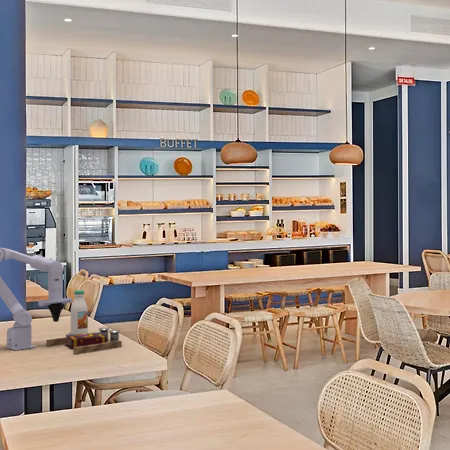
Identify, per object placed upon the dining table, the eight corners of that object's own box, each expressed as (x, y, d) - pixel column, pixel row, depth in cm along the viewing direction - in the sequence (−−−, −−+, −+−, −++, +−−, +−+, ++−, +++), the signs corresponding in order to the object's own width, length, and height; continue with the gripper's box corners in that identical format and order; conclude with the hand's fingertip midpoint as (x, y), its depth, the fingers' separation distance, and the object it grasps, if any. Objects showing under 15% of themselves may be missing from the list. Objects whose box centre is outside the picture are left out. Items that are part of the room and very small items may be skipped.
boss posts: (113, 345, 284) (113, 332, 284) (96, 341, 293) (96, 328, 293) (122, 344, 287) (122, 330, 287) (105, 339, 297) (105, 327, 297)
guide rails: (75, 354, 266) (75, 348, 266) (46, 345, 283) (46, 339, 283) (121, 347, 281) (121, 341, 281) (91, 339, 298) (91, 333, 298)
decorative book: (107, 347, 282) (107, 335, 282) (68, 350, 275) (68, 338, 275) (100, 342, 292) (100, 331, 292) (63, 345, 285) (63, 333, 285)
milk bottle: (71, 335, 306) (71, 291, 306) (70, 332, 314) (70, 289, 313) (88, 334, 308) (88, 291, 308) (87, 331, 316) (87, 289, 316)
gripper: (43, 291, 277) (44, 324, 277) (75, 288, 286) (75, 320, 287) (35, 290, 282) (36, 322, 282) (67, 287, 292) (67, 318, 292)
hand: (55, 321), depth 285 cm, fingers closed
